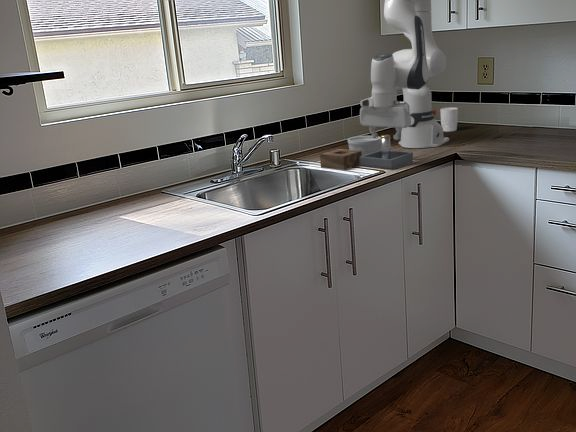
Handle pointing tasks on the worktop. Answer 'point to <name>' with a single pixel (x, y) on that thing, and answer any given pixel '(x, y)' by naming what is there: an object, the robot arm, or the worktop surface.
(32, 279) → the worktop surface
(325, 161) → the walnut pin block
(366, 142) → the ramekin
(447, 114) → the white cup
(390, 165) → the slate tray
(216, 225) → the worktop surface
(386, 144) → the steel pin
